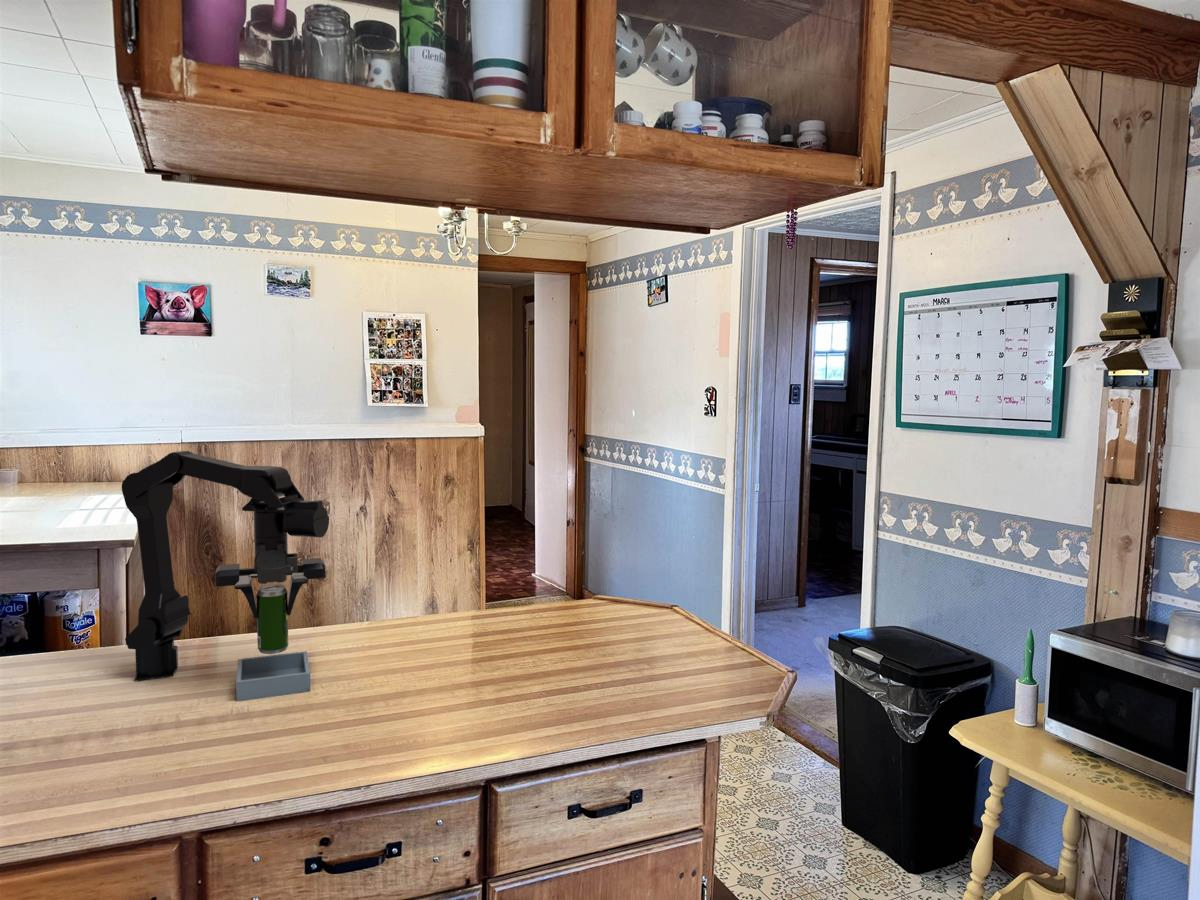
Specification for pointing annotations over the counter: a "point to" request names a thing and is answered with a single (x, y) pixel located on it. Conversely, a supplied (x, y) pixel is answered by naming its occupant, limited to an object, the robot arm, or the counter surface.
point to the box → (272, 676)
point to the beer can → (272, 618)
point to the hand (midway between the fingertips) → (272, 616)
